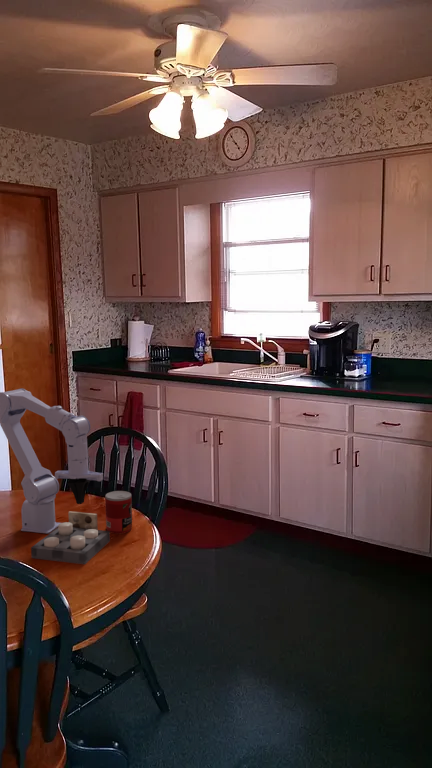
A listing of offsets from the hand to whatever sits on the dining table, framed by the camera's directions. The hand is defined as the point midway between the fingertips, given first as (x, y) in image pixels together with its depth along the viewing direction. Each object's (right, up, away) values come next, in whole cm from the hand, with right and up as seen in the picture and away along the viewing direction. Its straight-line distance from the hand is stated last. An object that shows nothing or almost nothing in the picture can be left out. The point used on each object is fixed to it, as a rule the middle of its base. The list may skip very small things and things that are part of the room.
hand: (80, 503), depth 181 cm
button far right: (+4, -10, -5) cm, 12 cm away
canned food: (+10, -10, +7) cm, 16 cm away
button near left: (-6, -11, -10) cm, 16 cm away
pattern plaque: (0, -10, +4) cm, 11 cm away
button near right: (+2, -10, -13) cm, 16 cm away
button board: (-1, -12, -7) cm, 14 cm away
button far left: (-4, -8, -3) cm, 10 cm away
